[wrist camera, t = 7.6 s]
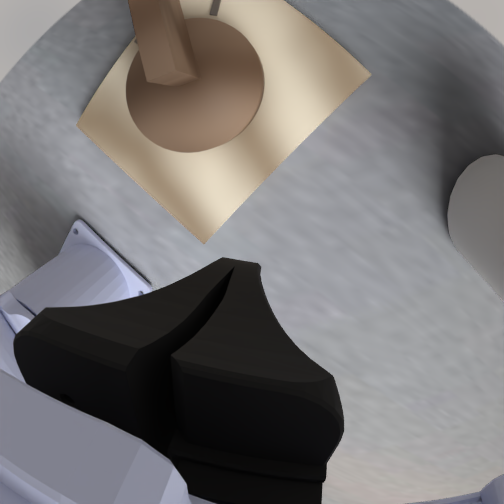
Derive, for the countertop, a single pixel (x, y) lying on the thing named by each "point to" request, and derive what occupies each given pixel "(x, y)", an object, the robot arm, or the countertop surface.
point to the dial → (190, 78)
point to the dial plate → (254, 135)
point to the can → (480, 219)
